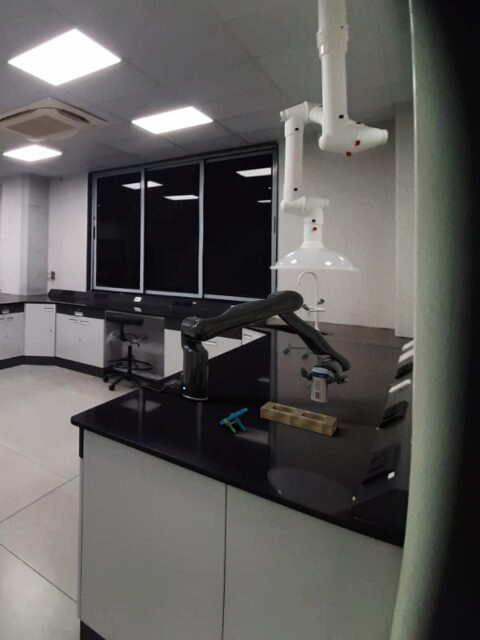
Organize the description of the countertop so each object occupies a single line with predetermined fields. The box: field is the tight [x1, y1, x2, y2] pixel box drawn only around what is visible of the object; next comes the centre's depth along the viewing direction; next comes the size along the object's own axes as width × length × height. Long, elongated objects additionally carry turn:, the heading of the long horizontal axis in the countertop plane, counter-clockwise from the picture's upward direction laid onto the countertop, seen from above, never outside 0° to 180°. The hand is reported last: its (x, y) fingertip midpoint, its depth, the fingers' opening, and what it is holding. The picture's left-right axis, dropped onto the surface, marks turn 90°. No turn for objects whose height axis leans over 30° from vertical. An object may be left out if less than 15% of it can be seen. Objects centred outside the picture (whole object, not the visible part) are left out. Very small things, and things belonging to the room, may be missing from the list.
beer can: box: [310, 366, 329, 404], centre depth 147 cm, size 5×5×12 cm
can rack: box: [259, 401, 338, 437], centre depth 143 cm, size 20×11×4 cm, turn 41°
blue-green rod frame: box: [219, 407, 249, 433], centre depth 135 cm, size 11×6×10 cm
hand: (318, 379), depth 145 cm, fingers closed on beer can, 4 cm apart
